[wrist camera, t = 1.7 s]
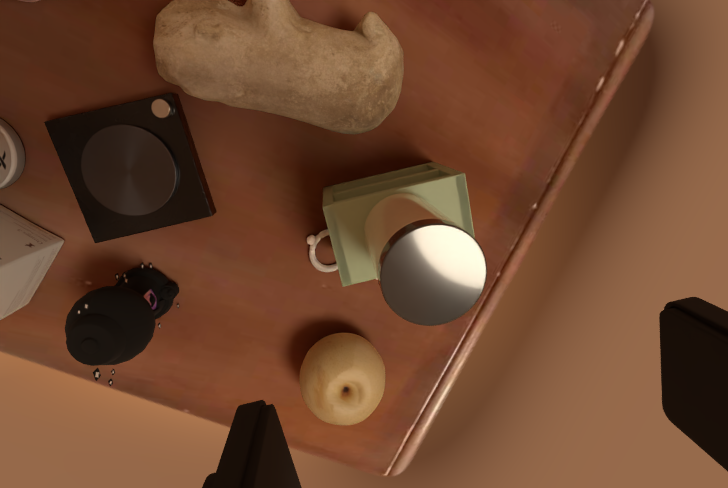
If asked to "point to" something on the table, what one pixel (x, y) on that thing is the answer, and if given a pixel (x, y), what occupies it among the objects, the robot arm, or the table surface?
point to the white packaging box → (22, 259)
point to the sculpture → (281, 62)
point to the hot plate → (132, 167)
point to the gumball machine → (118, 318)
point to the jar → (423, 260)
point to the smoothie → (29, 0)
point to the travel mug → (10, 155)
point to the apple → (342, 379)
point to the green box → (358, 197)
